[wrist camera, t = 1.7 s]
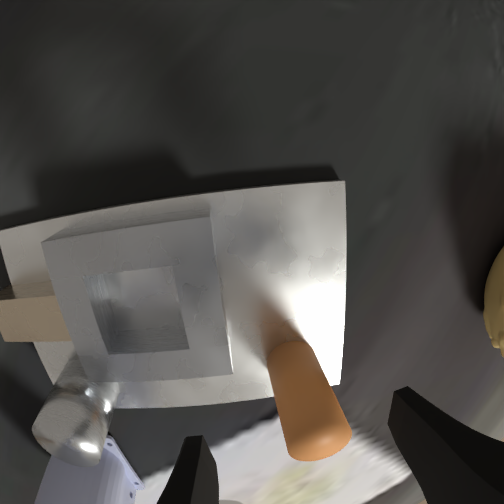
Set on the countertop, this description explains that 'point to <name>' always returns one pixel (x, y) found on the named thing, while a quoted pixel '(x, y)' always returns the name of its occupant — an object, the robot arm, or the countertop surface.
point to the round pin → (306, 403)
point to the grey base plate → (234, 297)
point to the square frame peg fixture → (99, 307)
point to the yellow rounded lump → (495, 302)
